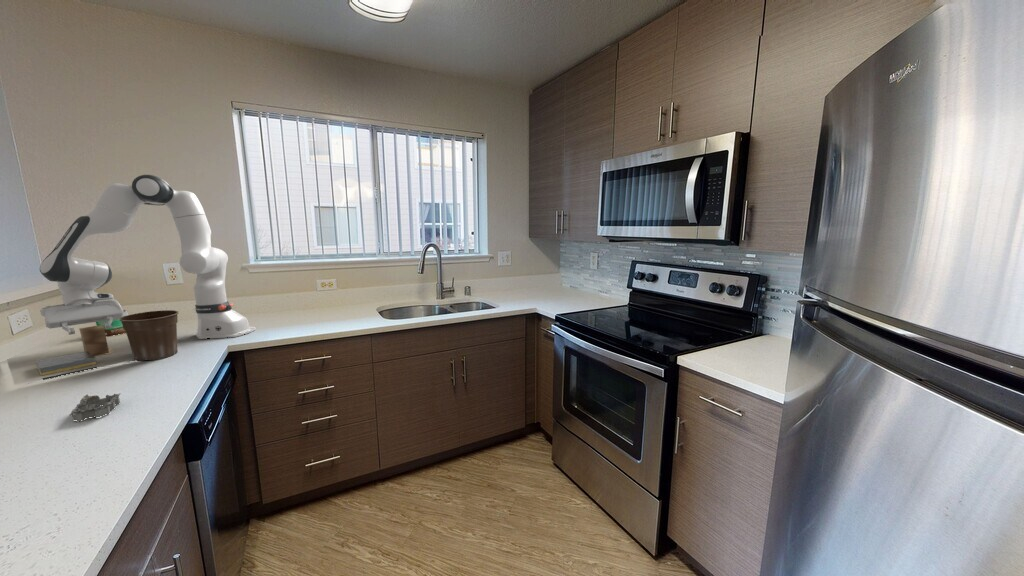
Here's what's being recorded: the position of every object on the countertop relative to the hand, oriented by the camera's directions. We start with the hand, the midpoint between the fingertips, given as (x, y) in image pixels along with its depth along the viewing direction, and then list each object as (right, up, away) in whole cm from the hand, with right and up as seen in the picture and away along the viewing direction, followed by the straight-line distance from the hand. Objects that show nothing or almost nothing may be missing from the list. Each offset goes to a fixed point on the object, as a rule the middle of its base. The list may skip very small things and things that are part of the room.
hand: (90, 330), depth 144 cm
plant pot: (+25, -10, +1) cm, 27 cm away
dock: (+7, -12, -13) cm, 19 cm away
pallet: (+3, -10, 0) cm, 10 cm away
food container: (-22, -5, +31) cm, 38 cm away
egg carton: (+50, -17, -43) cm, 68 cm away
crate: (+3, -9, 0) cm, 9 cm away
